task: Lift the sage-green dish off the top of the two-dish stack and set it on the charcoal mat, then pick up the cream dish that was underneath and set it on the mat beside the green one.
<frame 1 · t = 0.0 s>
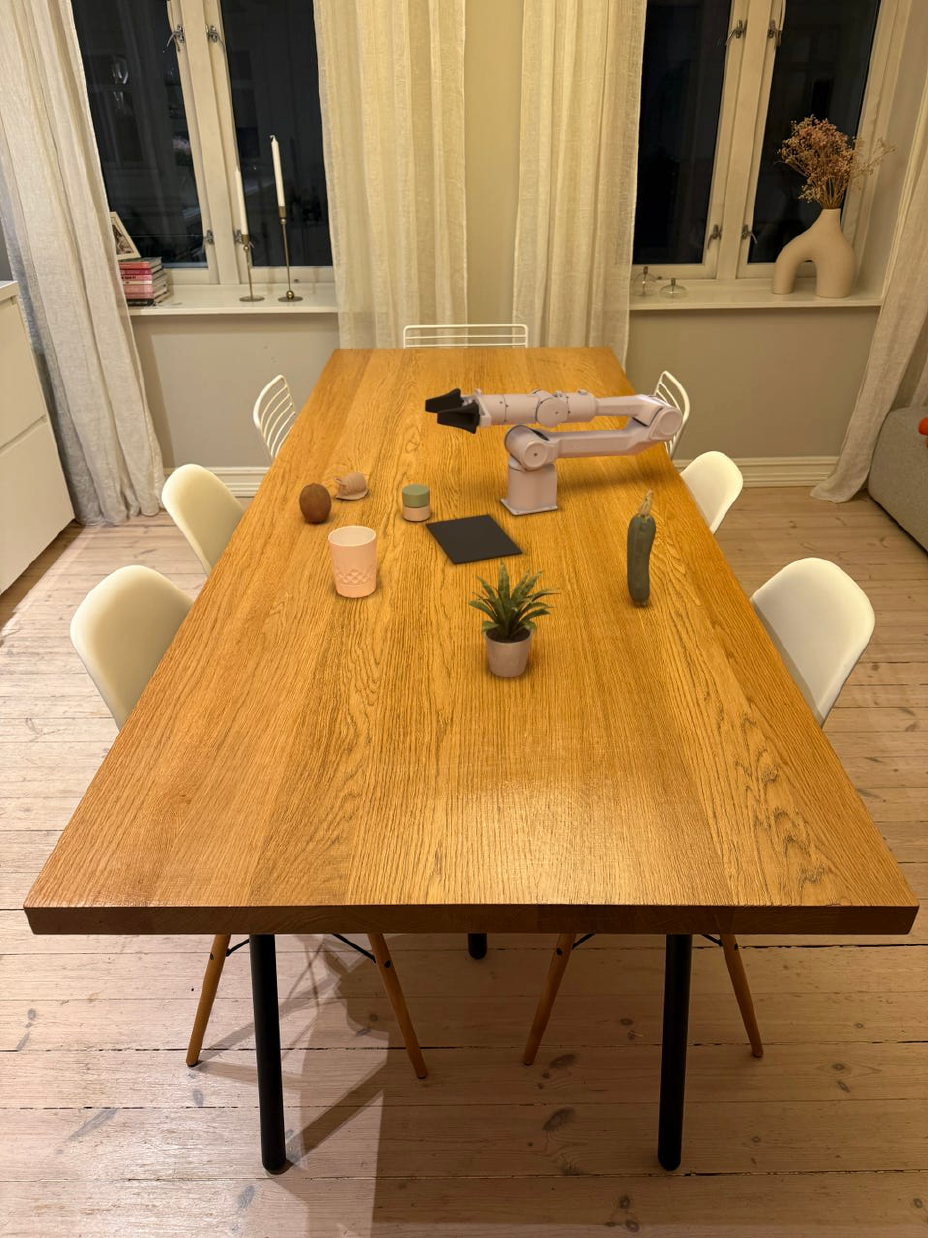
hand: (431, 411, 177), 22 cm above the table, tool horizontal, fingers open, 7 cm apart
decorative ornament: (351, 497, 198), on the table
vegetable: (635, 605, 157), on the table
mat: (472, 539, 180), on the table
sage dish: (416, 503, 188), point 3 cm above the table, touching cream dish
house plant: (506, 674, 140), on the table
white cup: (356, 589, 163), on the table
cream dish: (416, 516, 189), on the table, touching sage dish
fruit: (317, 522, 188), on the table
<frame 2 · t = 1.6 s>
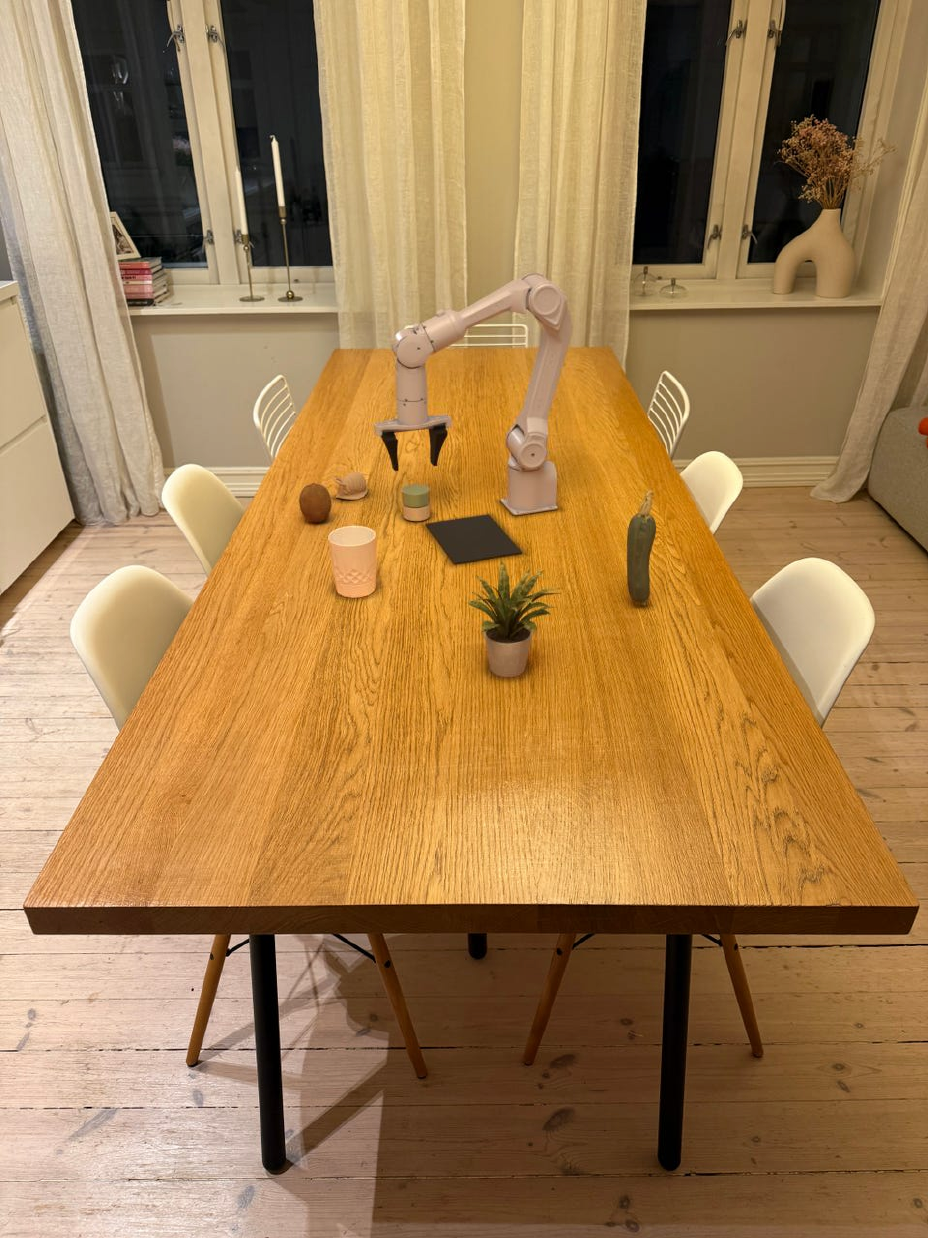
hand: (414, 466, 184), 10 cm above the table, tool pointing down, fingers open, 7 cm apart
nothing on the table moved.
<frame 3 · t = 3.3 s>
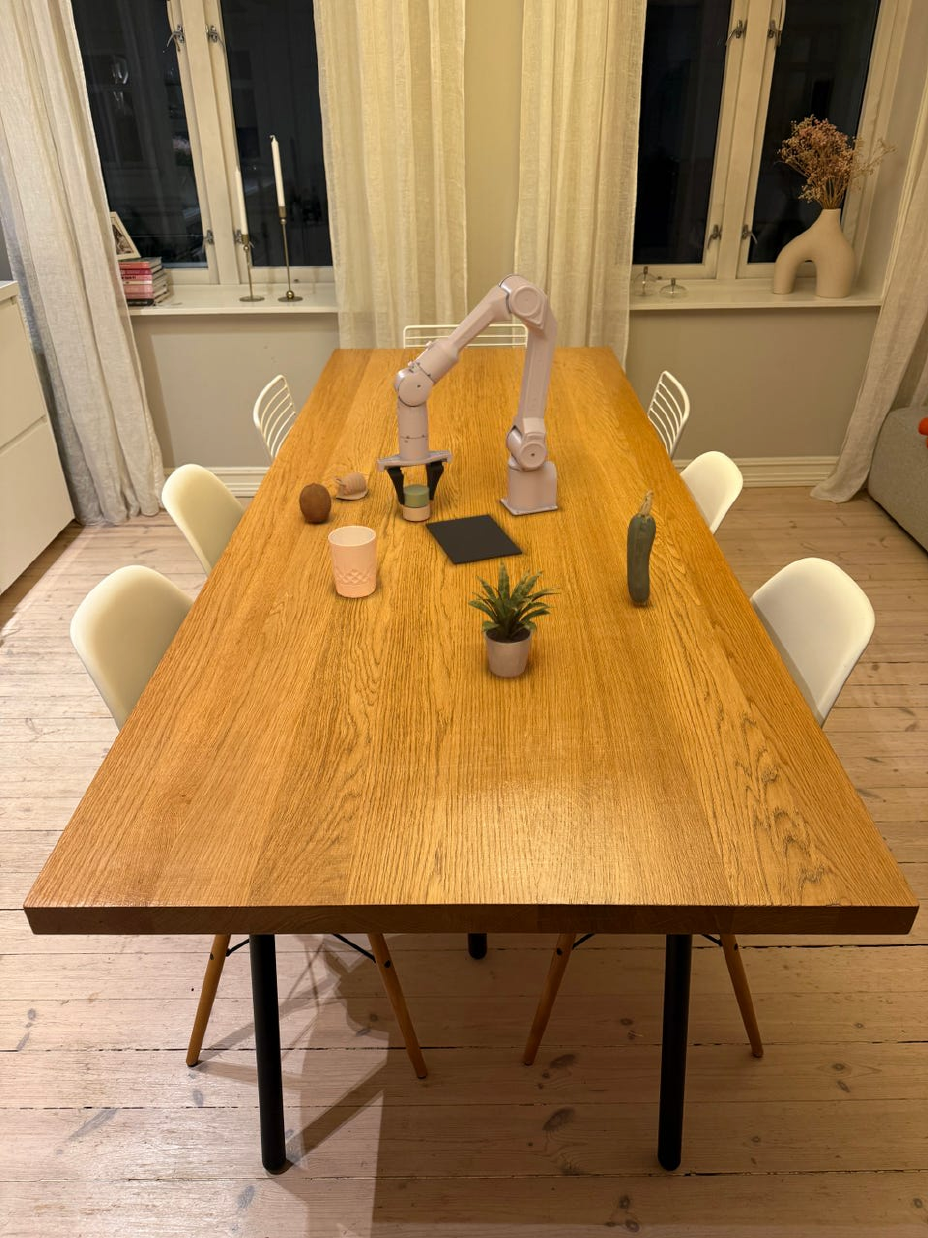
hand: (416, 500, 187), 3 cm above the table, tool pointing down, fingers closed on sage dish, 5 cm apart
sage dish: (416, 503, 188), point 3 cm above the table, touching cream dish, gripper
everything else where it was.
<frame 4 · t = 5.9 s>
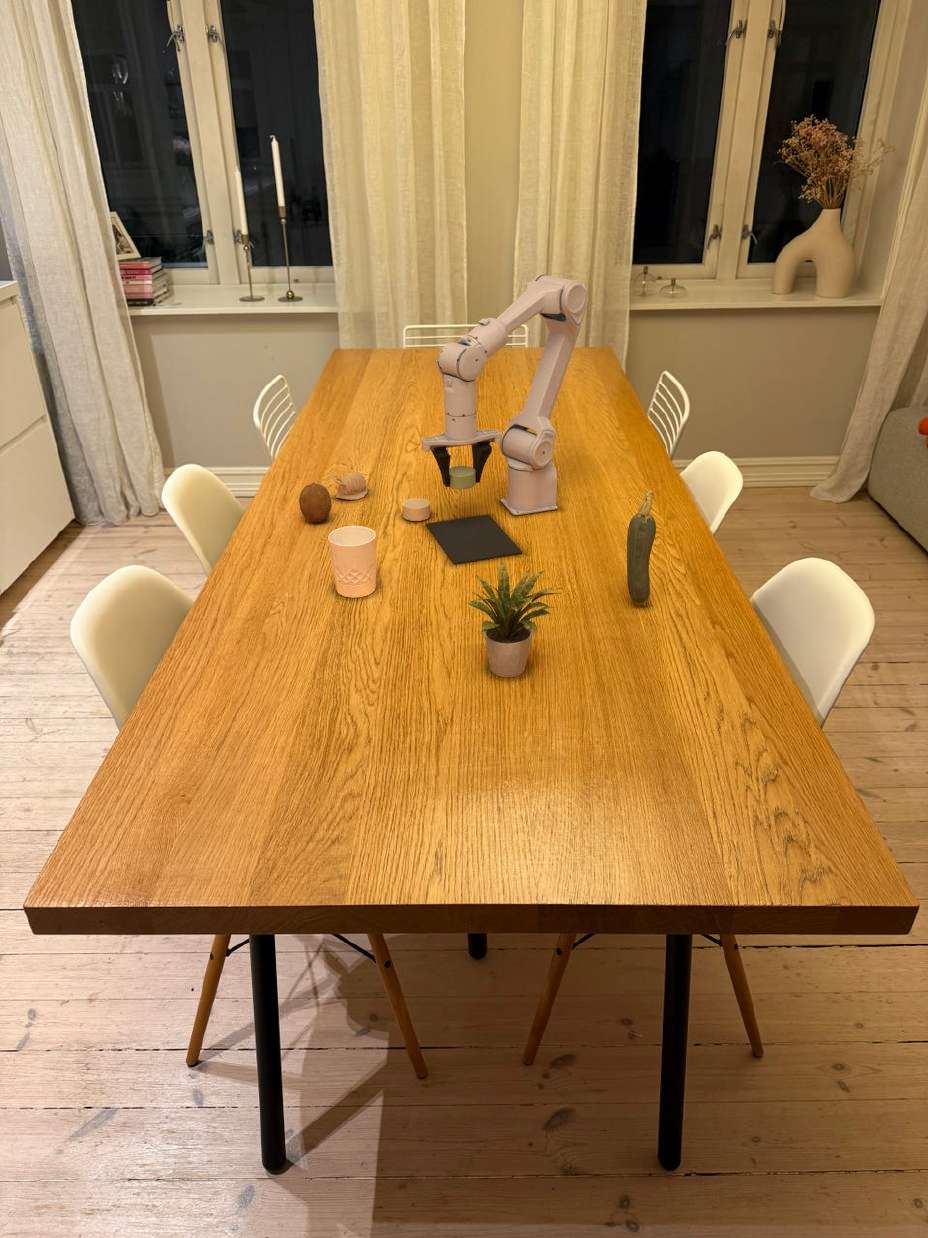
hand: (461, 482, 179), 10 cm above the table, tool pointing down, fingers closed on sage dish, 5 cm apart
sage dish: (461, 485, 179), point 9 cm above the table, touching gripper
cream dish: (416, 516, 189), on the table
everything else where it was.
when the fingers open (1 cm above the table, at t = 8.5 s): sage dish stays where it is, resting on mat.
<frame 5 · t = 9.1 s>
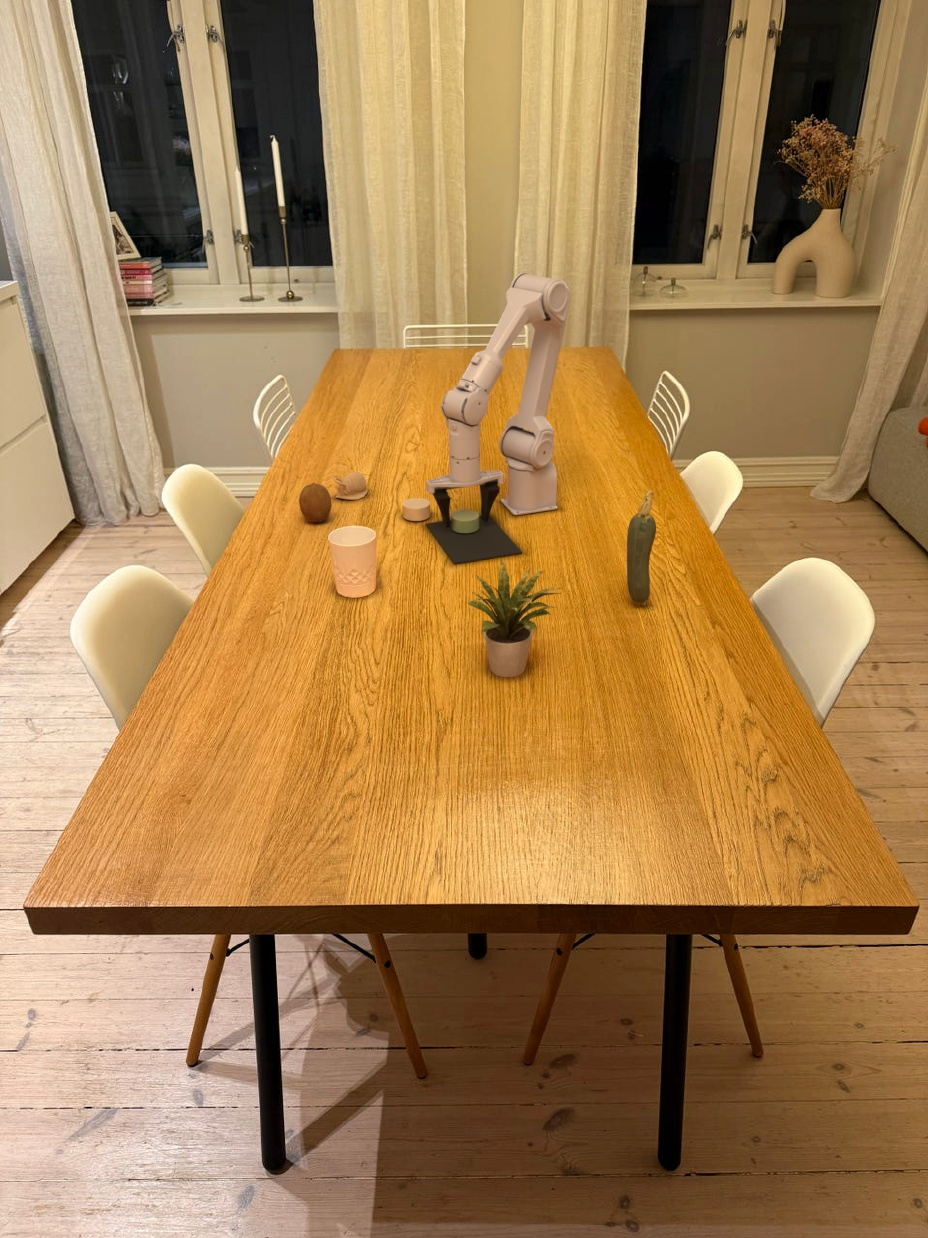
hand: (465, 522, 182), 2 cm above the table, tool pointing down, fingers open, 7 cm apart
sage dish: (465, 528, 183), resting on mat
everything else where it was.
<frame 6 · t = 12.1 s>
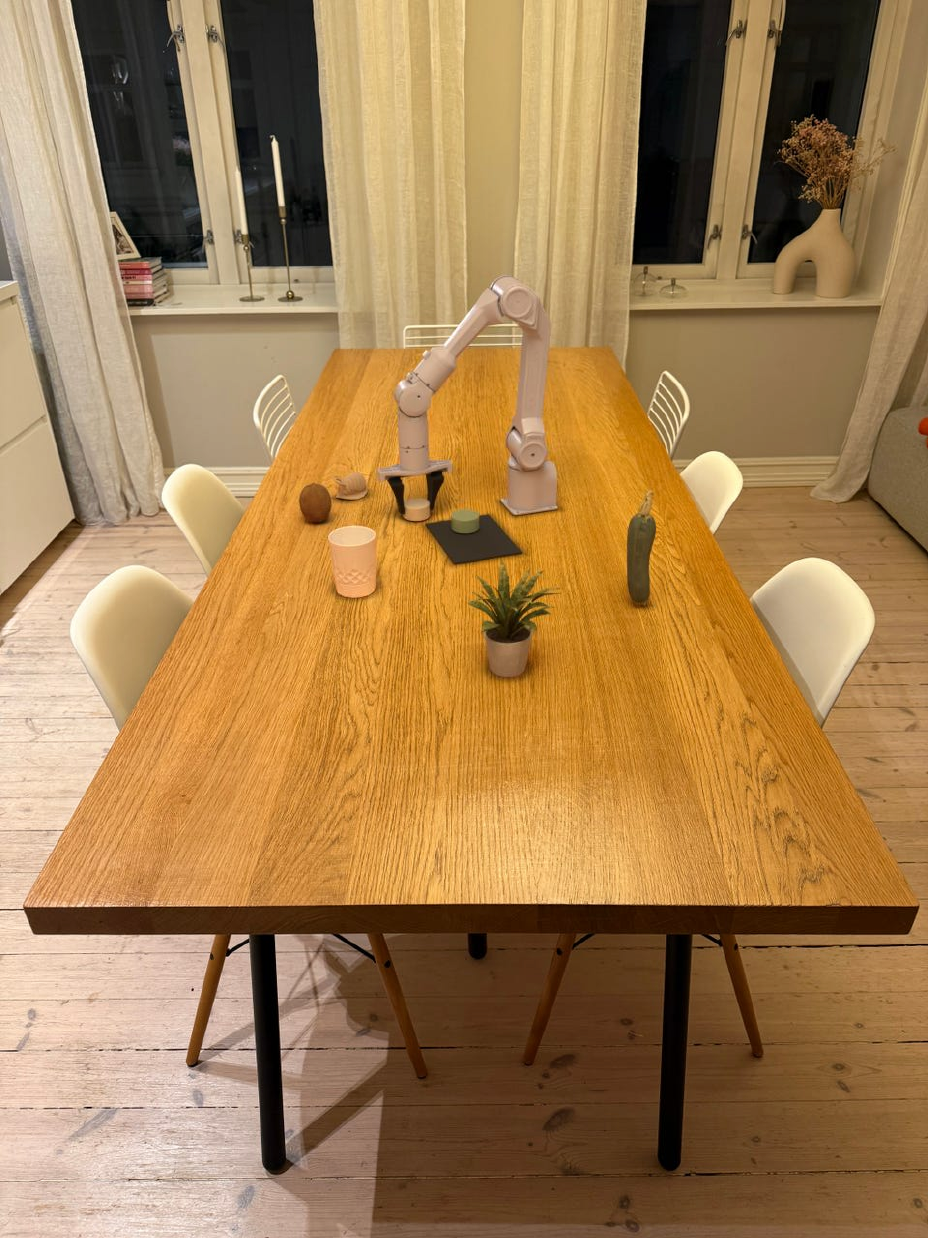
hand: (416, 510, 188), 1 cm above the table, tool pointing down, fingers closed on cream dish, 5 cm apart
cream dish: (416, 516, 189), on the table, touching gripper
everything else where it was.
when the fingers open (2 cm above the table, at t = 17.4 s): cream dish stays where it is, resting on mat.
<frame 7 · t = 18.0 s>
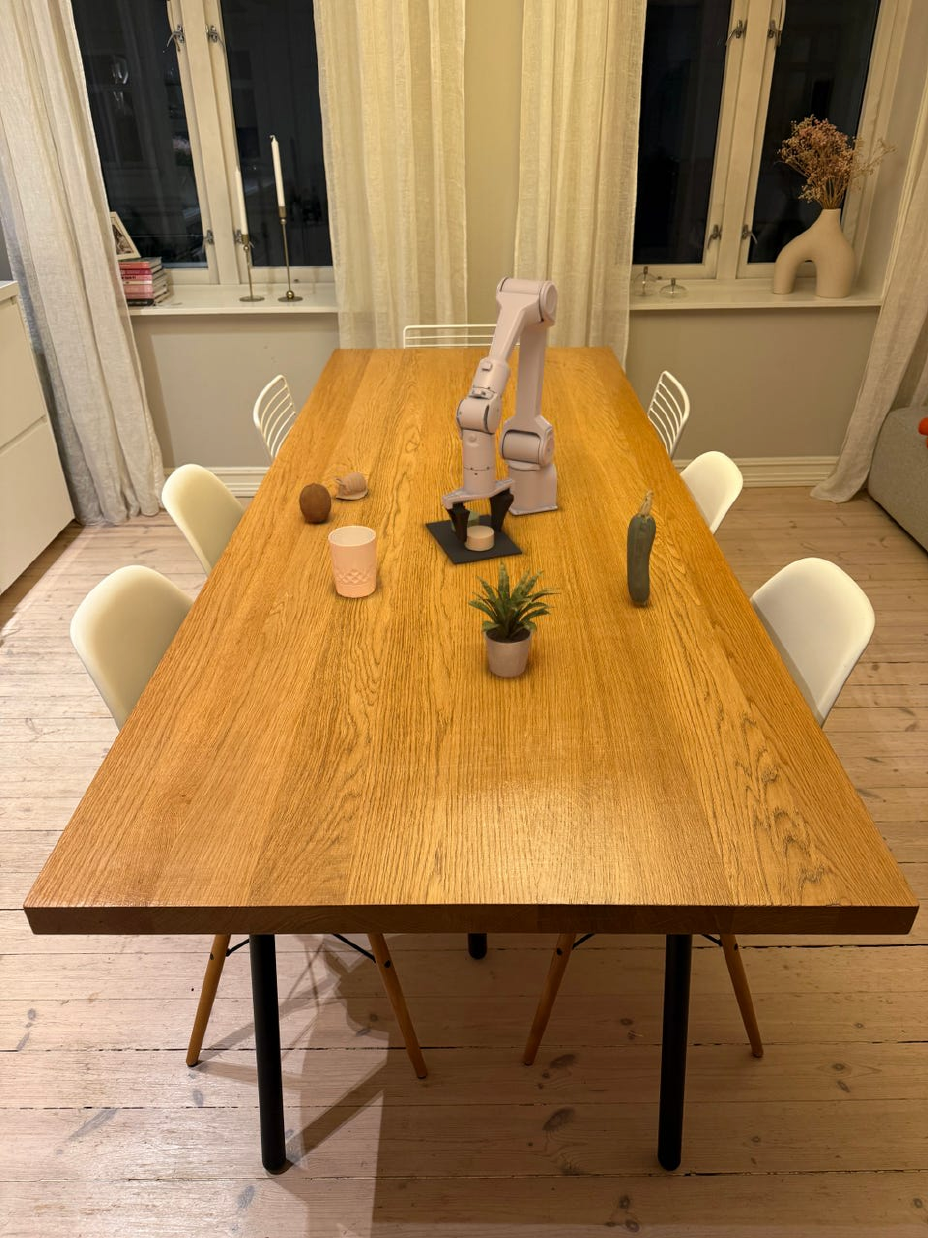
hand: (479, 535, 175), 3 cm above the table, tool pointing down, fingers open, 7 cm apart
cream dish: (479, 546, 176), resting on mat
everything else where it was.
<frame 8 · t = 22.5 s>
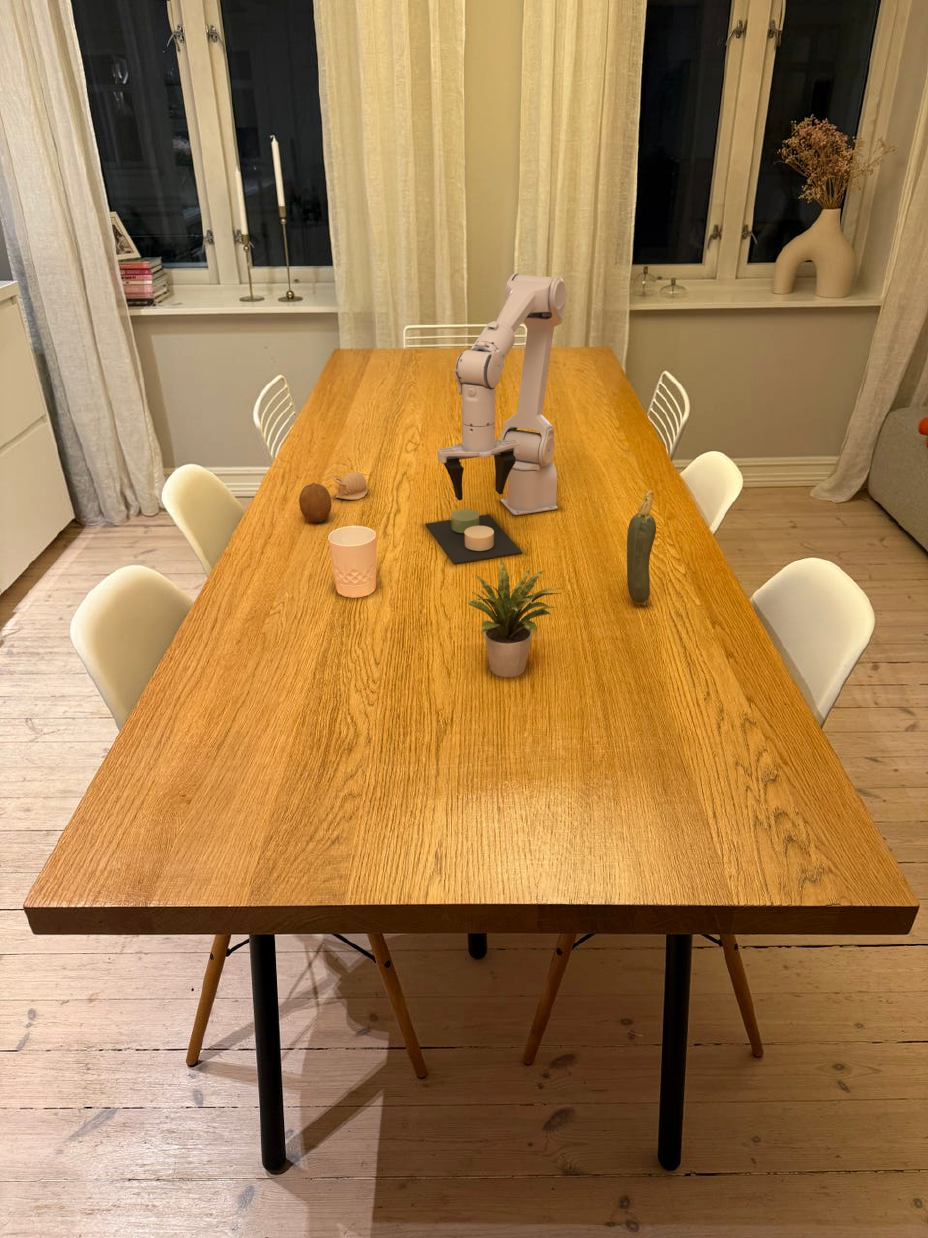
hand: (479, 495, 171), 10 cm above the table, tool pointing down, fingers open, 7 cm apart
nothing on the table moved.
at the end: sage dish inside the target area on the mat (4.0 cm from its centre), point 0.4 cm above the mat's base; cream dish inside the target area on the mat (4.0 cm from its centre), point 0.4 cm above the mat's base; sage dish tilted 0° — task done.
